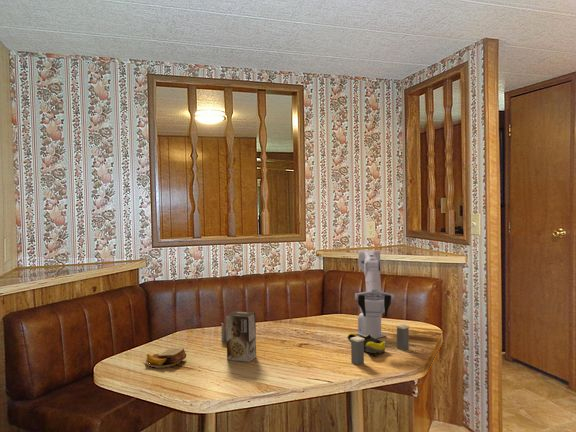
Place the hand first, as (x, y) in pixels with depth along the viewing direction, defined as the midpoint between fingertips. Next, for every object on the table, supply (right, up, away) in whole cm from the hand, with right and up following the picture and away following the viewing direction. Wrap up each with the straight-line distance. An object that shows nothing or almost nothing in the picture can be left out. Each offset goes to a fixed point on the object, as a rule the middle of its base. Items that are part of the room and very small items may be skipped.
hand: (375, 315), depth 160 cm
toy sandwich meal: (-75, -15, -8) cm, 77 cm away
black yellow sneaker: (-2, -14, +2) cm, 14 cm away
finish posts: (+1, -14, -4) cm, 14 cm away
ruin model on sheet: (-53, -14, +17) cm, 58 cm away
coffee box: (-49, -14, -5) cm, 51 cm away
